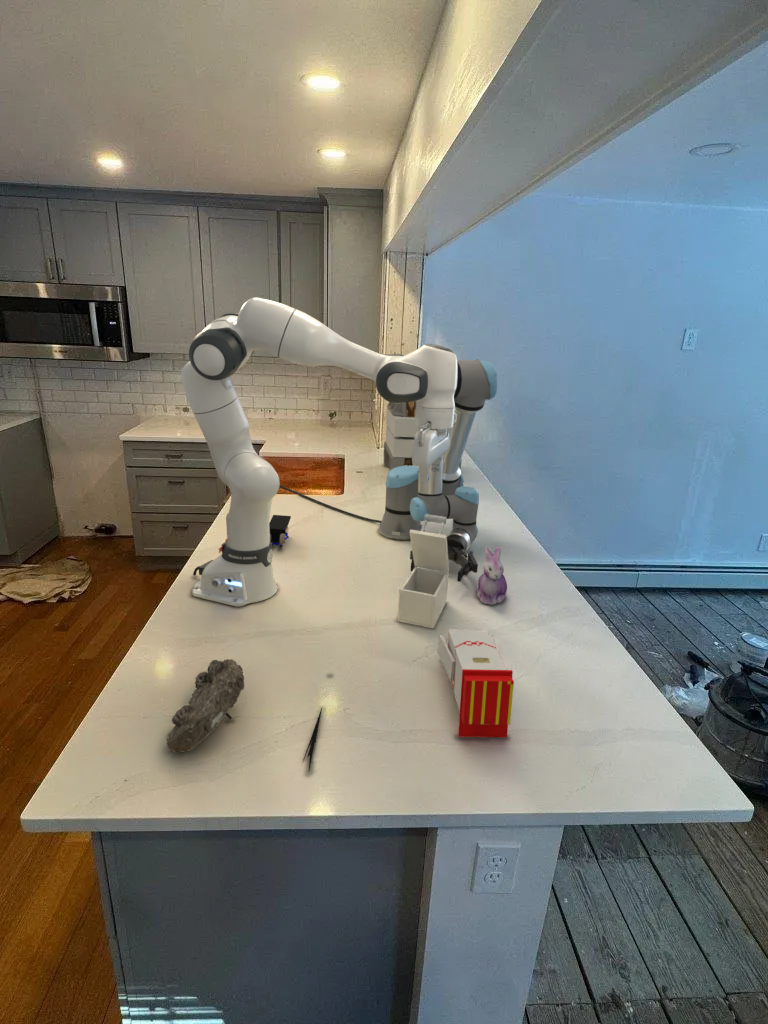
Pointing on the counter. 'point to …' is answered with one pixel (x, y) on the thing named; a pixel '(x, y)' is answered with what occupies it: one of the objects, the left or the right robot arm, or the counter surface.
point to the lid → (430, 546)
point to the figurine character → (279, 529)
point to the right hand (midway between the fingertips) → (435, 572)
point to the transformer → (400, 434)
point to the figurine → (492, 579)
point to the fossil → (206, 705)
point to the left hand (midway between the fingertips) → (430, 476)
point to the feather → (313, 740)
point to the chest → (423, 597)
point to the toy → (478, 682)
